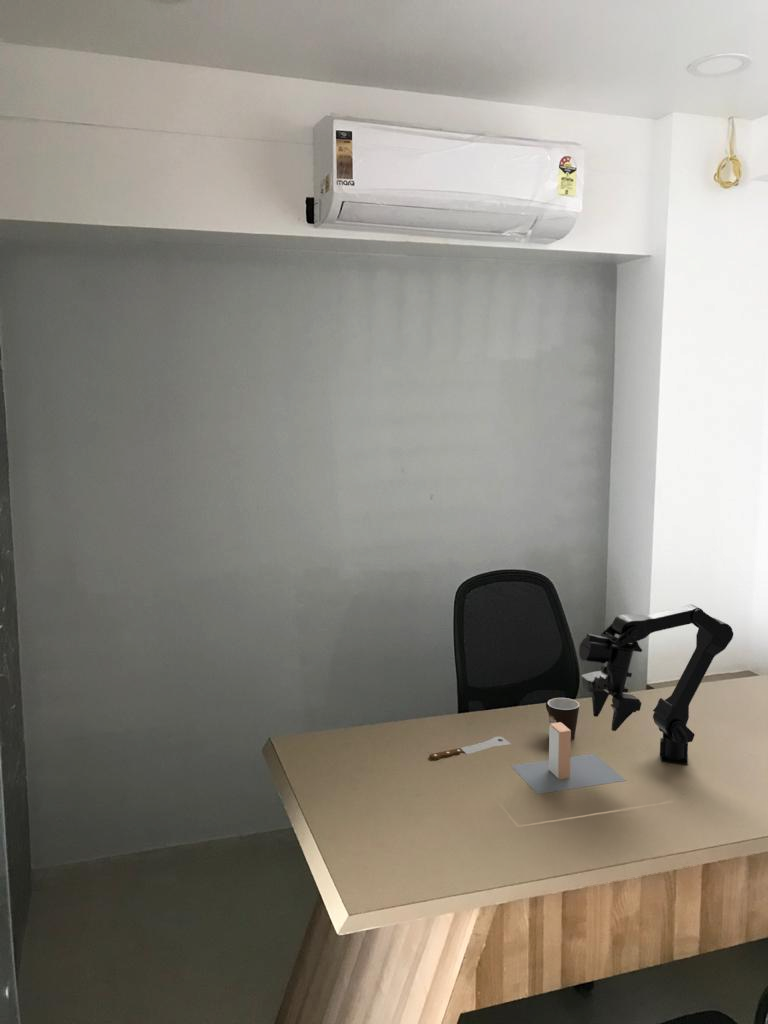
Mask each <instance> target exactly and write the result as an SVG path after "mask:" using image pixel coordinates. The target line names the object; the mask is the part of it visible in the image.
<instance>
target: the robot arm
mask: <svg viewBox="0 0 768 1024" xmlns="http://www.w3.org/2000/svg"><path fill="white" fill-rule="evenodd" d="M690 624H691V625H693V626H694V627H696V628H698V630H697V632H696V635H695V636H696V637H695V638H696V639H695V643H696V647H695V648H694V651H693V653H692V655H691V657H690V659H689V661H688V662H687V664H686V666H685V668H684V671H683V672H682V674H681V675H680V678H679V679H678V681H677V683H676V686H675V688H674V689H673V691H672V692H671V695H670V696H669V697H667V698H665V699H664V698H662V697H660V698H659V699H658V701H657V704H656V706H655V708H654V709H653V710H652V711H653V715H652V719H653V721H654V724H655V725H656V727H658V730H659V731H660V732H662V737H660V739H659V741H660V742H659V756H660V757H661V758H660V759H661V762H662V763H663V762H664V763H671V764H678V765H686V766H687V765H688V763H689V759H688V757H689V754H688V753H689V749H688V748H689V743H692V742H693V740H694V737H695V733H694V732H693V731H692V730H691V729H690V728H689V727H688V726H687V724H688V722H689V719H690V718H689V717H690V713H689V711H690V704H691V702H692V700H693V699H694V696H695V695H696V693H697V690H698V689H699V687H700V685H701V683H702V680H704V678H705V675H706V673H707V672H708V669H709V668H710V665H711V664H712V662H713V660H714V658H715V657H716V656H717V655H718V654H720V653H722V652H723V651H724V650H725V649H727V647H728V646H729V644H730V642H731V641H732V640H733V638H734V634H735V633H734V632H733V628H732V627H731V625H730V624H728V623H726V622H723V621H722V620H719V619H718V618H716V617H713V616H710V615H709V614H707V612H705V611H704V610H703V609H702V608H700V607H698V606H697V605H695V604H686V605H685V606H681V607H676V608H671V609H668V610H667V609H666V610H663V611H659V612H653V613H650V614H633V613H632V614H631V613H628V614H620V615H617V616H615V617H614V619H613V621H612V623H611V624H610V625H609V626H607V628H606V629H604V631H603V632H602V633H600V635H596V634H593V633H586V636H585V638H583V640H581V643H579V647H578V654H579V659H580V660H581V661H584V662H591V663H599V664H602V666H600V670H599V671H592V672H587V673H584V674H582V675H581V683H582V688H583V689H585V690H586V691H587V692H589V693H590V694H591V695H590V696H591V702H592V712H593V713H592V714H593V717H596V718H597V717H599V715H600V713H601V712H602V709H603V708H604V706H605V703H606V701H608V699H609V698H608V697H609V695H611V696H612V698H611V702H612V703H611V704H610V706H611V708H612V710H613V715H612V721H611V728H610V729H611V731H613V732H616V731H618V729H619V728H620V727H621V725H622V724H624V722H625V721H626V720H627V719H628V718H629V717H631V715H632V714H634V713H637V712H640V711H641V707H642V701H641V700H640V699H639V698H638V697H636V696H635V695H633V694H630V693H629V688H628V687H626V685H627V681H628V677H629V678H632V675H633V673H632V672H630V669H631V664H632V659H633V656H634V652H638V653H641V652H643V649H642V648H641V646H640V645H639V643H638V642H639V641H641V640H644V639H647V637H648V636H649V635H651V634H653V633H656V632H661V631H665V630H668V629H673V628H678V627H683V626H686V625H690ZM628 693H629V694H628Z"/></svg>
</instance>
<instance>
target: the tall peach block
mask: <svg viewBox="0 0 768 1024" xmlns="http://www.w3.org/2000/svg"><path fill="white" fill-rule="evenodd" d="M548 737H549V738H548V739H549V740H548V741H549V742H548V760H549V770H550V771H551V772H552V773H553V774H554V775H555V776H556V777H557V778H558V779H566V778H570V757H571V752H572V751H571V747H572V746H571V745H572V741H571V730H570V729H568V728H567V727H566V726H565V725H564V724H562V723H561V722H558V723H550V722H549V735H548Z"/></svg>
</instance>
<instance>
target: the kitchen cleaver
mask: <svg viewBox="0 0 768 1024" xmlns="http://www.w3.org/2000/svg"><path fill="white" fill-rule="evenodd" d="M506 745H507V746H508V745H512V743H511V742H509V741H508V740H507V739H505V737H503V736H494V737H492V738H490V739H488V740H486V741H485V740H484V741H483V742H480V743H475V744H471V745H466V746H461V747H458V748H454V749H450V750H449V749H448V750H443V751H440V752H435V753H431V754H429V757H428V758H429V760H432V761H439V760H440V759H445V758H449V757H450V758H451V757H453V755H454V756H457V755H459V756H461V754H465V755H467V756H469V754H472V753H473V754H474V753H476V752H479V751H482V750H486V749H489V748H492V747H500V746H506Z"/></svg>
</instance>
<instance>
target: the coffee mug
mask: <svg viewBox="0 0 768 1024" xmlns="http://www.w3.org/2000/svg"><path fill="white" fill-rule="evenodd" d="M545 708H546V711H547V713H548V721H549V724H550V723H558V722H561V723H562V724H564V725H565V726H566V727H567V728H568V729H570V730H571V742H572V741H574V740H575V739H576V738H575V737H576V730H577V723H578V718H579V709H580V703H579V701H577V700H575V699H572V698H568V697H567V698H566V697H553V698H551V699H548V700H546V703H545Z"/></svg>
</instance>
